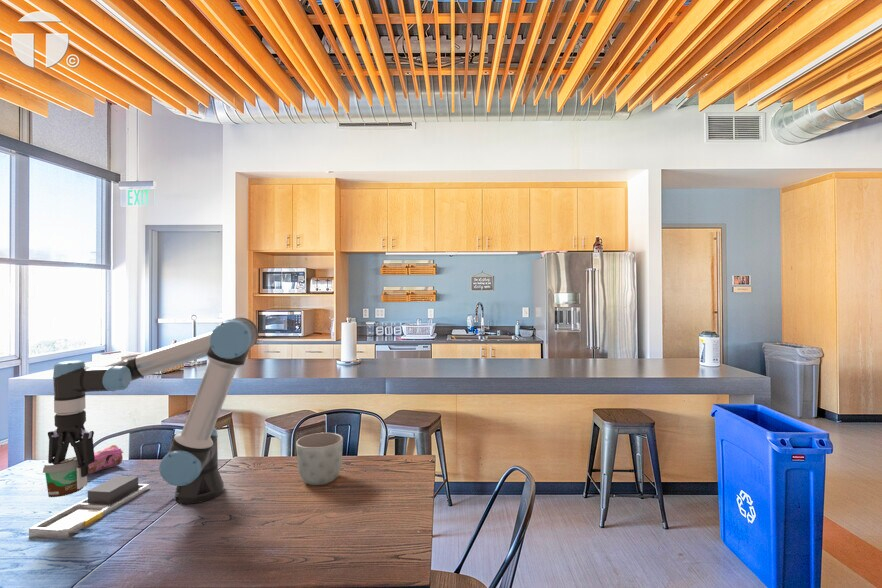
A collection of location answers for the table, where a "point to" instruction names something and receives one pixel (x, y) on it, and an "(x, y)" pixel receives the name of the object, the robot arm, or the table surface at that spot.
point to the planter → (319, 457)
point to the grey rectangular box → (113, 490)
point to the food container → (62, 477)
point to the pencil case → (106, 459)
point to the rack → (78, 517)
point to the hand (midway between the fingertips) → (72, 486)
